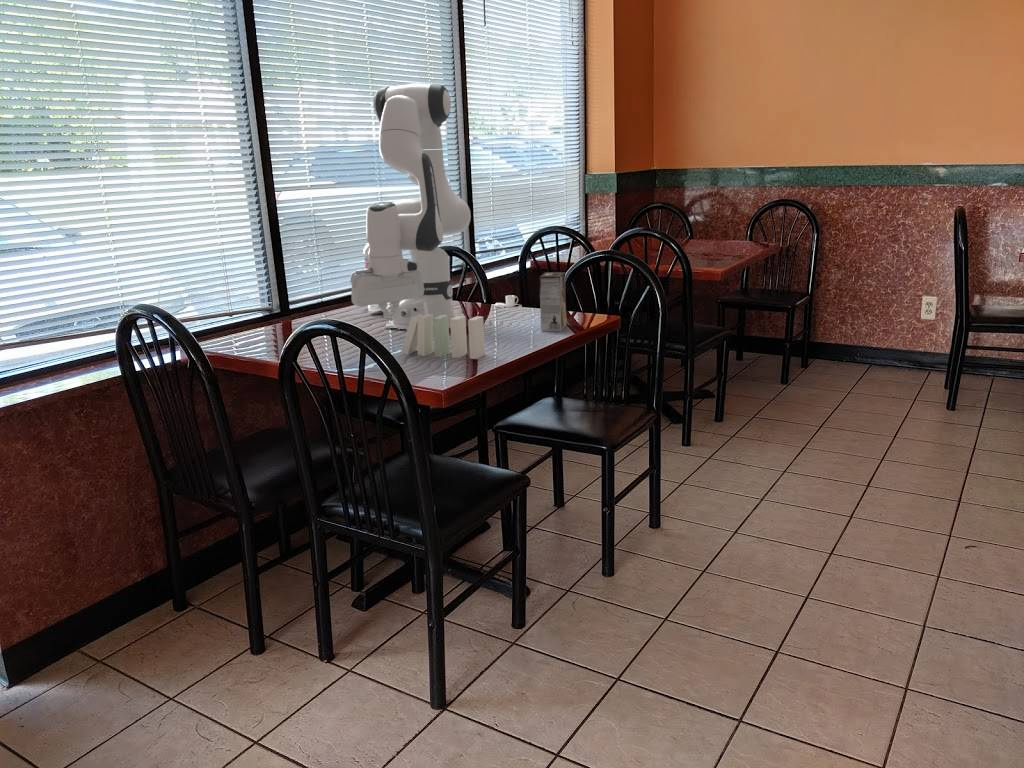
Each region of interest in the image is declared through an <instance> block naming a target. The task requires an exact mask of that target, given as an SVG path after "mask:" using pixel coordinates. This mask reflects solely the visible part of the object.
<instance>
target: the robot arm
mask: <svg viewBox="0 0 1024 768" xmlns="http://www.w3.org/2000/svg"><path fill="white" fill-rule="evenodd" d="M372 104H373V105H372V107H373V108H372V109H373V112H374V113H373V114H374V116H375V118H376V120H377V121H378V122H379V123H380V126H379V139H378V148H379V155H380V157H381V159H382V161H383V162H384V163H385V164H386V165H388V166H389V167H390V168H391V169H394V170H395V171H397V172H400V173H402V174H404V175H406V176H407V178H408V179H409V180H410V181H411V183H413V184H415V185H416V186H417V187H418V189H419V198H417V197H416V198H404V199H403V198H402V199H399V200H396V201H392V202H390V201H379V202H374V203H372V204H370V205H369V206H368V207H367V209H366V216H365V217H366V218H365V232H366V240H367V244H369V252H368V259H369V269H365V268H363V269H357V270H355V271H354V272H352V273H351V276H350V284H351V293H350V294H351V297H350V298H351V303H352V304H353V305H354V306H356V307H358V308H359V307H368V305H374V304H379V307H380V309H381V310H382V314H383V319H384V320H385V321H386V320H391V319H392V320H391V321H389V322H387V323H386V324H385V327H386V326H388V327H397V328H403V329H408V326H409V322H410V319H411V317H414V316H416V315H419V314H421V315H425V314H430V315H433V318H435V317H438V316H440V315H448V322H449V329H451V327H450V319H452V318H454V317H456V314H455V309H454V304H453V284H452V283H453V282H452V279H451V273H450V271H451V269H450V258H449V254H448V253H447V252H446V251H445V250H444V249H443V248H441V247H439V246H440V245H441V244H442V242H443V239H444V235H445V236H450V235H455V234H459V233H462V232H465V231H466V230H467V228H468V227H469V226H470V223H471V218H472V216H471V209H470V206H469V205H468V203H467V202H466V201H465V200H464V199H462V198H461V197H460V196H458V194H457V193H455V192H454V190H453V189H452V187H451V186H450V184H449V182H448V179H447V175H446V170H445V163H444V162H445V161H444V153H443V152H444V149H443V139H442V132H441V126H442V125H443V124H444V122H446V120H448V118H449V116H450V114H451V107H452V100H451V97H450V93H449V91H448V89H447V88H446V87H445V86H444V85H443V84H439V83H434V82H431V84H430V83H429V84H428V83H408V84H403V85H402V84H401V85H396V86H395V85H394V86H391V87H390V85H389V86H385V87H382V88H379V89H377V91H376V92H375V94H374V95H373V100H372ZM403 251H408V252H409V254H410V257H411V260H409V259H407V258H403V256H404V255H403ZM387 302H388V303H390V304H391V305H392V306H391V309H390V311H389V310H387V309H386V307H387Z"/></svg>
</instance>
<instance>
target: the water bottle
mask: <svg viewBox="0 0 1024 768" xmlns="http://www.w3.org/2000/svg"><path fill="white" fill-rule="evenodd" d="M368 252H369V244H368V243H367V244H366V245H365V246H364V248H363V250H362V253H363V257H364V259H363V260H364V261H363V262H364V269H369V259H368ZM388 303H389V302H387V307H386V309H387V310H388V309H389V304H388ZM367 309H368V312H370V311H372V312H371V313H378V312H377V311H382V310H381V309H380V307H379V304H374V305H368V306H367ZM388 311H389V310H388Z"/></svg>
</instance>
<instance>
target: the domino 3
mask: <svg viewBox="0 0 1024 768" xmlns="http://www.w3.org/2000/svg"><path fill="white" fill-rule="evenodd" d="M450 342H451V339H450V328H449V322H448V315H440V316H438V317H435V318H433V350H434V357H435V358H437V357H439V358H443V357H445V356H446V355H448V354H450V353H451V343H450Z"/></svg>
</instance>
